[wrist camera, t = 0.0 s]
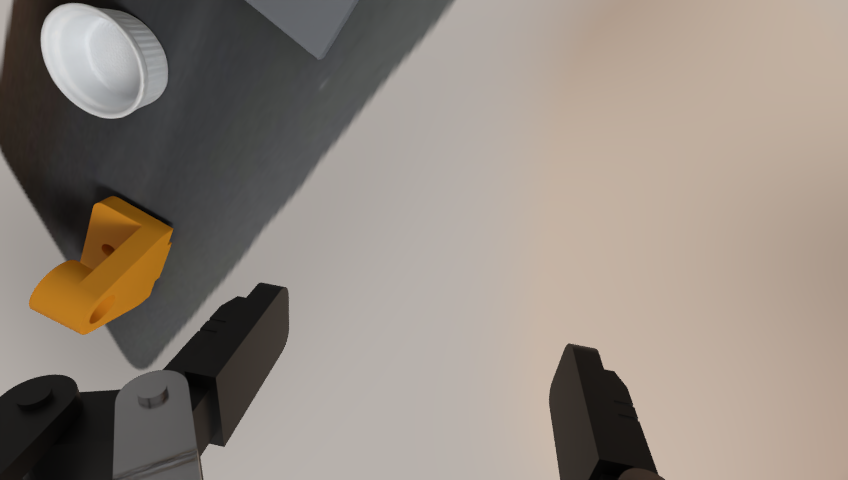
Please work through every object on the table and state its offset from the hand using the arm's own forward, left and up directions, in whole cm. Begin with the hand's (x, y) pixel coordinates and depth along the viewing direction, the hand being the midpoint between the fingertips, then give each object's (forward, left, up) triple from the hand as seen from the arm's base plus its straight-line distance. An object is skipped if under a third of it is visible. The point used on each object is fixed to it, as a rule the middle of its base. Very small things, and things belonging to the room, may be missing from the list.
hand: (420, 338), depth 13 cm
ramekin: (0, -31, -30) cm, 43 cm away
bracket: (+20, -34, -30) cm, 49 cm away
